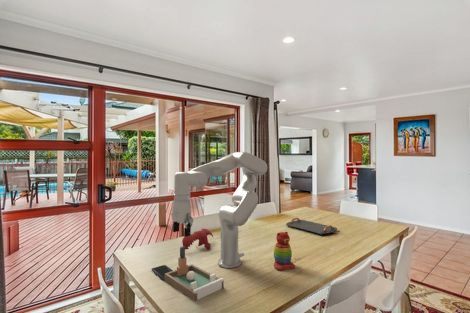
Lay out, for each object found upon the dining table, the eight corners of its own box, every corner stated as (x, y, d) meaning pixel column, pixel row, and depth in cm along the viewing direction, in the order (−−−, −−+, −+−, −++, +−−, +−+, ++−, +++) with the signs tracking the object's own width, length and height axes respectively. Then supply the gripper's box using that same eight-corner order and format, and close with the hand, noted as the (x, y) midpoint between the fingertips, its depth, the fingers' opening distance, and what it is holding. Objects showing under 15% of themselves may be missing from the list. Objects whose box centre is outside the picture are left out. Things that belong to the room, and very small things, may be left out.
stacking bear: (277, 271, 131) (277, 236, 130) (269, 263, 140) (269, 230, 140) (297, 268, 134) (297, 234, 134) (287, 261, 143) (287, 229, 143)
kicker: (185, 271, 127) (185, 245, 127) (188, 273, 125) (188, 246, 125) (176, 275, 123) (176, 247, 123) (179, 276, 122) (179, 249, 122)
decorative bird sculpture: (216, 248, 174) (204, 230, 180) (224, 241, 171) (212, 222, 176) (188, 263, 150) (175, 241, 155) (197, 255, 147) (183, 232, 152)
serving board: (282, 226, 215) (282, 219, 215) (299, 222, 229) (299, 215, 229) (324, 238, 185) (324, 229, 185) (341, 232, 199) (341, 224, 199)
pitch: (192, 270, 132) (192, 260, 132) (223, 287, 114) (223, 276, 114) (164, 280, 121) (164, 269, 121) (194, 301, 104) (194, 288, 104)
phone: (163, 279, 120) (150, 268, 132) (163, 281, 120) (150, 270, 132) (178, 274, 125) (165, 264, 137) (178, 276, 125) (165, 266, 137)
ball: (191, 277, 122) (191, 268, 122) (197, 280, 119) (197, 271, 119) (184, 280, 119) (184, 271, 119) (189, 283, 116) (189, 274, 116)
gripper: (165, 196, 128) (165, 231, 127) (185, 201, 115) (184, 239, 115) (179, 195, 133) (178, 228, 133) (199, 199, 120) (198, 236, 120)
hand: (181, 233), depth 124 cm, fingers open, 9 cm apart
